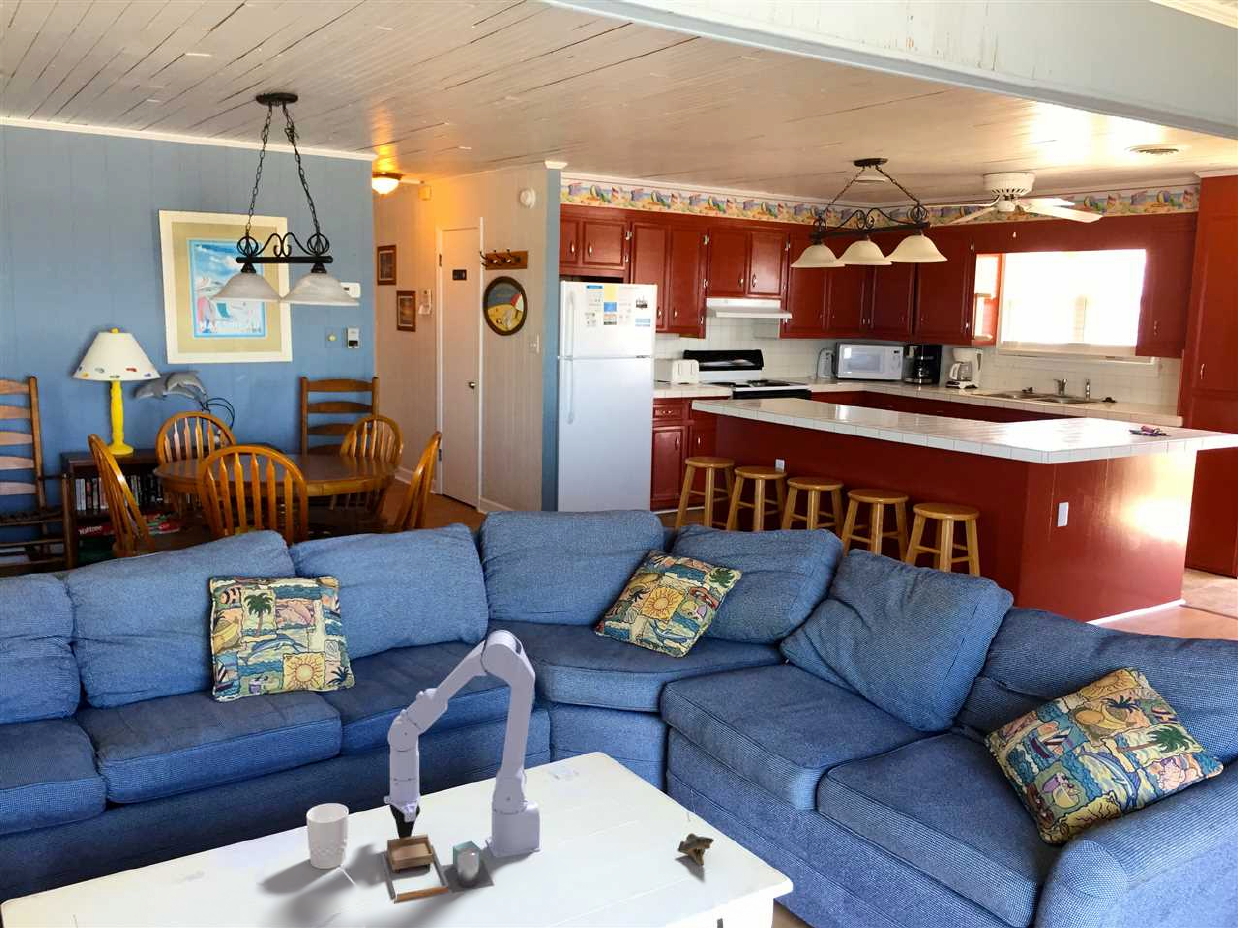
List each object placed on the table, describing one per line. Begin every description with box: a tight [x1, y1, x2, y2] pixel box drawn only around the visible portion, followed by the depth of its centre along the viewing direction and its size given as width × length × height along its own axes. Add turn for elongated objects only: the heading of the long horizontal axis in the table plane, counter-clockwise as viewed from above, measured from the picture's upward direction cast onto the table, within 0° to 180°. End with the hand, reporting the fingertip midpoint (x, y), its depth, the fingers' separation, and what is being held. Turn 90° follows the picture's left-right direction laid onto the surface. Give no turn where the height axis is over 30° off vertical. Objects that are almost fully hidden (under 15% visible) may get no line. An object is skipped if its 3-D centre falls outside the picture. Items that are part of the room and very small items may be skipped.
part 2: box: [457, 847, 479, 888], centre depth 191 cm, size 4×4×6 cm
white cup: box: [305, 802, 349, 870], centre depth 198 cm, size 8×8×10 cm
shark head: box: [677, 833, 714, 866], centre depth 202 cm, size 8×6×7 cm
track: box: [379, 845, 450, 902], centre depth 194 cm, size 10×17×1 cm, turn 21°
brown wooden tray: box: [386, 833, 435, 874], centre depth 198 cm, size 8×8×4 cm
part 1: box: [452, 840, 482, 869], centre depth 196 cm, size 4×4×4 cm
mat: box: [441, 858, 495, 894], centre depth 194 cm, size 8×10×1 cm
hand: (404, 838), depth 204 cm, fingers closed
